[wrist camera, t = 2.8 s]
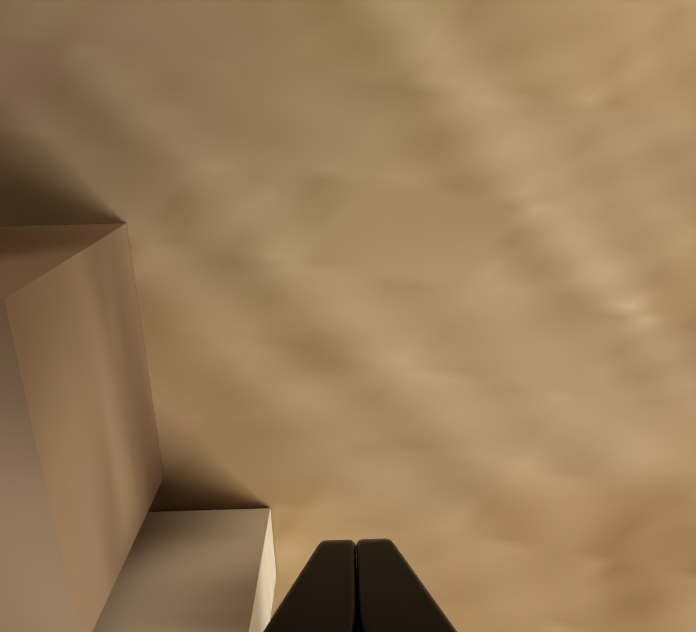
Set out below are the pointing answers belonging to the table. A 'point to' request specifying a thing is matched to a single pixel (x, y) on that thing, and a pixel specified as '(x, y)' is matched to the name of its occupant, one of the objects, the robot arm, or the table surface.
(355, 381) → the table surface
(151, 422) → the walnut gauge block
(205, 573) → the rail
